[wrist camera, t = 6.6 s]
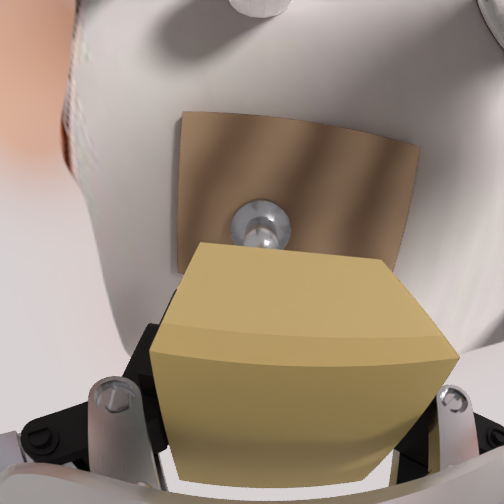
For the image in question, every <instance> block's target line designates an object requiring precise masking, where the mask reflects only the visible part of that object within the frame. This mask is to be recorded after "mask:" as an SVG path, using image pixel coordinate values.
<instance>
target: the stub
mask: <svg viewBox="0 0 504 504" xmlns="http://www.w3.org/2000/svg"><path fill="white" fill-rule="evenodd" d="M230 232H231V238H232V241H233V243H234V244H235V245H236V246H246V247H257V248H267V249H278V250H283V249H284V248H285V247H286V245H287V244H288V242H289V239H290V235H291V225H290V221H289V218H288V215H287V213H286V212H285V210H284V209H283V208H282V207H281V206H280V205H279V204H277V203H276V202H274V201H271V200H268V199H253V200H250V201H248V202H246V203H244V204H243V205H241V206H240V207H239V208H238V210H237V211H236V212H235V214H234V216H233V219H232V223H231V228H230Z"/></svg>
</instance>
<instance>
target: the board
mask: <svg viewBox="0 0 504 504" xmlns="http://www.w3.org/2000/svg"><path fill="white" fill-rule="evenodd" d="M419 153H420V147H418V146H415V145H412V144H408V143H405V142H401V141H397V140H394V139H390V138H386V137H382V136H378V135H374V134H370V133H365V132H361V131H356V130H352V129H347V128H342V127H337V126H331V125H326V124H320V123H314V122H308V121H301V120H294V119H286V118H278V117H269V116H260V115H248V114H235V113H218V112H183V114H182V126H181V140H180V157H179V178H178V213H177V264H178V273H185V272H186V270H187V268H188V266H189V264H190V262H191V260H192V258H193V256H194V253H195V251H196V249H197V247H198V245H199V243H200V242H204V243H214V244H225V245H235V244H234V243H233V241H232V238H231V232H230V228H231V223H232V219H233V216H234V214H235V212H236V211H237V210H238V208H239V207H240V206H241V205H243V204H244V203H246V202H248V201H250V200H253V199H268V200H271V201H274V202H276V203H277V204H279V205H280V206H281V207H282V208H283V209H284V210H285V212H286V213H287V215H288V218H289V221H290V225H291V235H290V239H289V242H288V244H287V245H286V247H285V248H284V249H283V250H288V251H298V252H309V253H319V254H329V255H339V256H349V257H359V258H369V259H379V260H382V261H383V262H384V263H385V264H386V266H387V267H388V268H389V269H390V270H391V271H392V272H393V269H394V266H395V262H396V259H397V255H398V252H399V248H400V245H401V241H402V237H403V233H404V229H405V225H406V221H407V217H408V212H409V208H410V203H411V198H412V193H413V188H414V183H415V178H416V172H417V166H418V160H419Z"/></svg>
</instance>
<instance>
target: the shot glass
mask: <svg viewBox="0 0 504 504" xmlns="http://www.w3.org/2000/svg"><path fill="white" fill-rule="evenodd" d="M229 2H230V4H231V6H232V7H234V8H235V9H236V10H237V11H238V12H239V13H242V14H244V15H247V16H250V17H258V18H267V17H271V16H276V15H278V14H280V13H282V12H283V11H285V10H287V9H288V7H289V6H290V4H291V3H292V2H293V0H229Z"/></svg>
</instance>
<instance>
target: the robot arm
mask: <svg viewBox="0 0 504 504" xmlns="http://www.w3.org/2000/svg"><path fill="white" fill-rule="evenodd" d="M477 1H478V5H479V8H480V10H481V13H482V15H483V17H484V19H485V21H486V23H487V25H488V27H489V28H490V30H491V32H492V33H493V35H494V36H495V38H496V39H497V41H498V42H499V44H500V45H501V46H502V48H503V49H504V0H477ZM176 291H177V289H176V290H175V292H174V294H173V296H172V298H171V300H170V302H169V304H168V306H167V309H166V311H165V313H164V315H163V317H162V319H161V321H160V324H159V325H158V324H152V323H150V324H148V325H147V327H146V329H145V331H144V333H143V335H142V337H141V339H140V341H139V343H138V345H137V347H136V349H135V351H134V353H133V355H132V357H131V359H130V361H129V363H128V365H127V367H126V369H125V372H124V374H123V376H122V377H119V376H112V377H106V378H104V379H101V380H99V381H98V382H97V383H95V384H94V385H93V387H92V388H91V390H90V392H89V397H88V401H87V402H84V403H82V404H79V405H76V406H73V407H70V408H67V409H64V410H62V411H59V412H55V413H52V414H49V415H46V416H43V417H40V418H37V419H34V420H32V421H30V422H29V423H28V424H26V425H25V427H24V428H23V430H22V432H21V433H19V434H17V432H16V431H12V432H8V433H4V434H0V504H504V427H503V426H501V425H500V424H498V423H495V422H493V421H491V420H489V419H487V418H485V417H483V416H481V415H478V414H476V413H474V412H473V409H472V404H471V400H470V398H469V396H468V395H467V393H466V392H465V391H463V390H462V389H461V388H459V387H457V386H454V385H445V386H442V387H441V388H440V390H439V391H438V393H437V394H436V396H435V397H434V399H433V400H432V401H431V403H430V404H429V406H428V407H427V408H426V410H425V411H424V412H423V414H422V415H421V416H420V418H419V419H418V420H417V421H416V423H415V424H414V425H413V426H412V428H411V429H410V430H409V431H408V432H407V434H406V435H405V436H404V437H403V438H402V440H401V441H400V442H399V443H398V444H397V445H396V446H395V447H394V450H393V458H392V467H391V474H390V481H389V487H386V488H382V489H377V490H373V491H368V492H363V493H357V494H351V495H345V496H338V497H330V498H321V499H310V500H296V501H240V500H225V499H214V498H206V497H198V496H191V495H184V494H178V493H172V492H169V491H168V487H167V484H166V480H165V476H164V472H163V468H162V464H161V460H160V455H159V452H161V451H163V450H165V449H167V445H169V442H168V438H167V434H166V430H165V426H164V422H163V418H162V414H161V410H160V405H159V400H158V396H157V391H156V386H155V381H154V376H153V370H152V365H151V359H150V353H149V350H150V348H151V345H152V343H153V341H154V339H155V336H156V334H157V332H158V330H159V327H160V325H161V323H162V321H163V319H164V316H165V314H166V312H167V310H168V308H169V306H170V303H171V301H172V299H173V297H174V295H175V293H176Z"/></svg>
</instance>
